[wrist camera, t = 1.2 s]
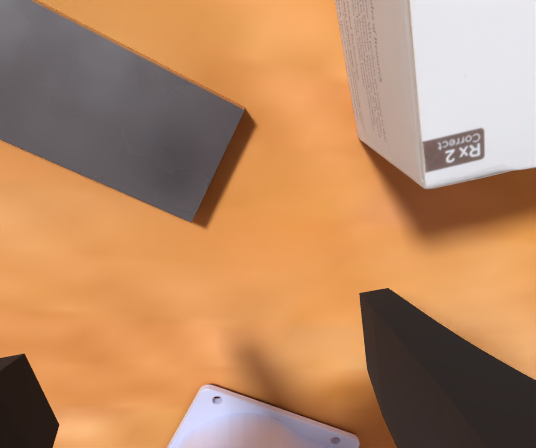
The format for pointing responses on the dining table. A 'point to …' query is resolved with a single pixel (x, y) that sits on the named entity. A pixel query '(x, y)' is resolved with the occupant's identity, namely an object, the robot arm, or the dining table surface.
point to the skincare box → (443, 84)
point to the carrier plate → (108, 109)
